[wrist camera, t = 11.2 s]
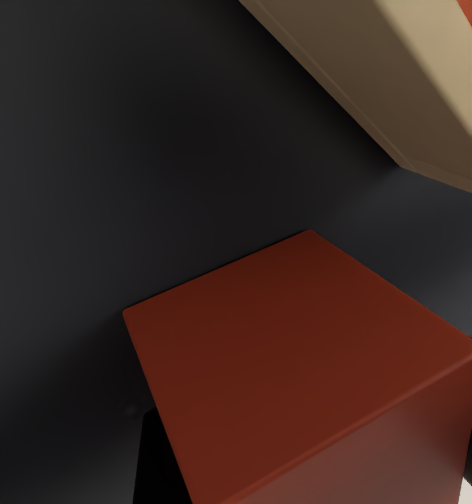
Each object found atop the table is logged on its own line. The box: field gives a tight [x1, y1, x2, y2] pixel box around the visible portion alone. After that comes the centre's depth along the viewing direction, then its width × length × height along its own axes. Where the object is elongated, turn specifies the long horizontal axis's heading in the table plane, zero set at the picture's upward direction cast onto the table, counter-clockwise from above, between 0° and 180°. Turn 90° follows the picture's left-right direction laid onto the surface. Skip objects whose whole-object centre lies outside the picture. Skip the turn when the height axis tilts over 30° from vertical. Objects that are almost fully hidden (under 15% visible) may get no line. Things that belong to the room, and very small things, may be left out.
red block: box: [122, 230, 472, 504], centre depth 8 cm, size 4×4×4 cm
